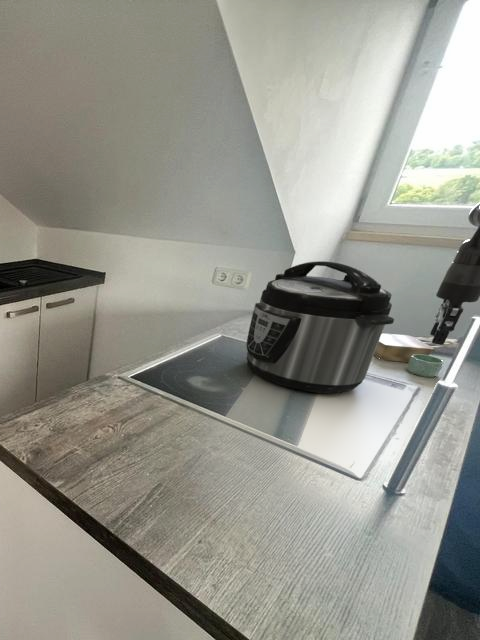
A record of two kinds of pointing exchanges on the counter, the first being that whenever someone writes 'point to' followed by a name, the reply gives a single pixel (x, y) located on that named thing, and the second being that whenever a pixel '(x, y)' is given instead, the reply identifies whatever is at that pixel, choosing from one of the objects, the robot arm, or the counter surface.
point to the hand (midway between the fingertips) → (436, 339)
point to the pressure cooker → (317, 328)
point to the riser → (400, 347)
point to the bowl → (424, 365)
